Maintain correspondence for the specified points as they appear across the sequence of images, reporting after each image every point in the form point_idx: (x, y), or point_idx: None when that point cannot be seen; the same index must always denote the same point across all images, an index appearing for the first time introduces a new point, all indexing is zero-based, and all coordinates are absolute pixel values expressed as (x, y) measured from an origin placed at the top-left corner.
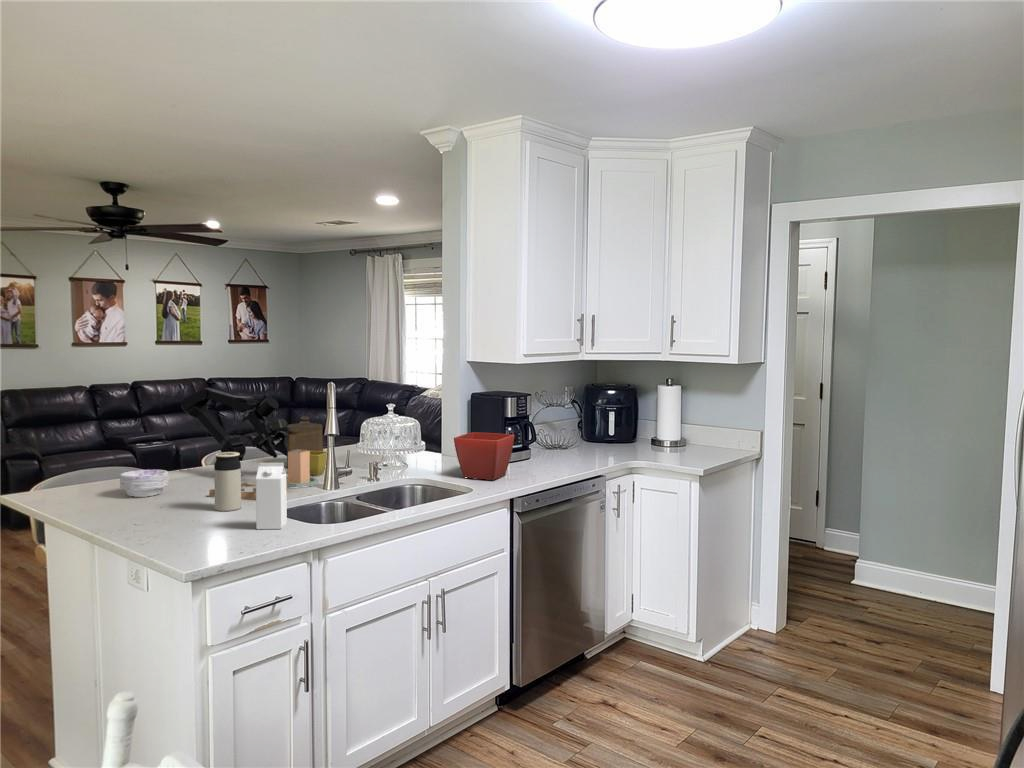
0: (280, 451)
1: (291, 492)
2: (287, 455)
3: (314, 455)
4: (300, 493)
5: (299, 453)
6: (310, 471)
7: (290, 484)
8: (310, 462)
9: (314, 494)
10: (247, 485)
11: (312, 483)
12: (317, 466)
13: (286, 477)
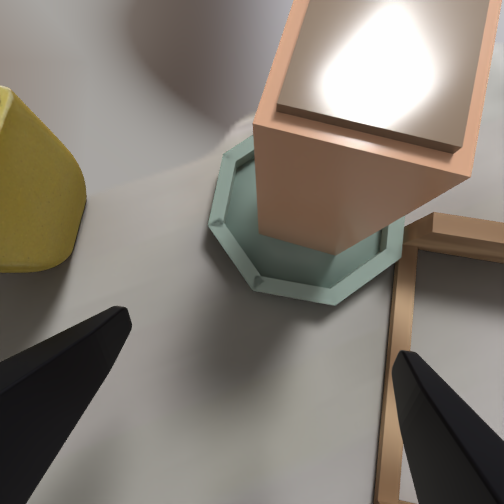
0: (63, 442)
1: (489, 182)
2: (127, 323)
3: (2, 129)
4: (498, 136)
5: (494, 16)
6: (72, 219)
7: (403, 216)
8: (39, 193)
9: (500, 74)
10: (396, 486)
11: None
12: (70, 158)
13: (443, 222)
